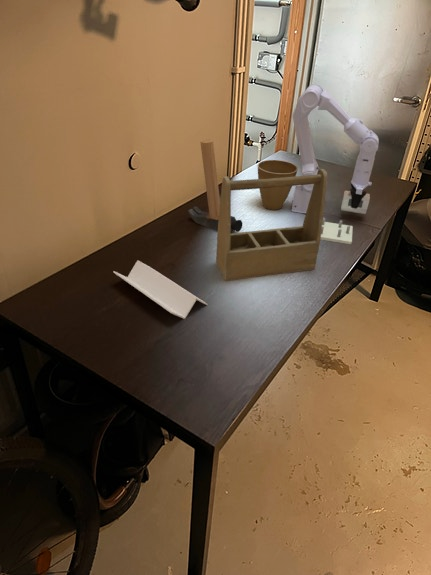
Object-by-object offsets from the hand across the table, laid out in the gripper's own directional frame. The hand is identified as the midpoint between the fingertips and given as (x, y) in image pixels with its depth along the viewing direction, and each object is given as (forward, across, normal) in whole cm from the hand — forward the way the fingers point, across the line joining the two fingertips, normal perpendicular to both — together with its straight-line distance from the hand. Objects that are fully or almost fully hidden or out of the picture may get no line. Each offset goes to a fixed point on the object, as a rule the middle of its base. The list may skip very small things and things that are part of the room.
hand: (354, 205), depth 159 cm
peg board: (+5, -15, +7) cm, 17 cm away
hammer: (+6, -24, +47) cm, 53 cm away
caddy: (+6, -44, +25) cm, 51 cm away
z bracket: (+6, -68, +50) cm, 84 cm away
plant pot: (+6, 0, +30) cm, 31 cm away
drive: (+2, 0, 0) cm, 2 cm away
